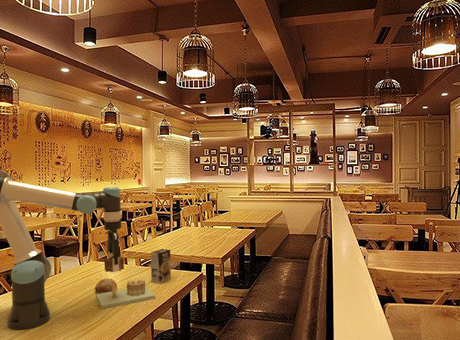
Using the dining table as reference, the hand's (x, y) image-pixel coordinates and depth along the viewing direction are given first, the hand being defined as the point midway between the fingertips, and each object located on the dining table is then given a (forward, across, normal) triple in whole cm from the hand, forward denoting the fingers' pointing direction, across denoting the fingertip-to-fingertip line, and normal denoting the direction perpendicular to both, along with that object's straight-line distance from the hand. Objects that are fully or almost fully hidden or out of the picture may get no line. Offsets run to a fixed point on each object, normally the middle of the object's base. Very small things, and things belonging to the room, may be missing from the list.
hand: (114, 268), depth 175 cm
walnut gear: (0, 0, 0) cm, 0 cm away
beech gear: (+13, 0, -10) cm, 16 cm away
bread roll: (+15, +15, +2) cm, 21 cm away
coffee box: (+15, +17, -28) cm, 36 cm away
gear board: (+15, 0, -5) cm, 15 cm away
